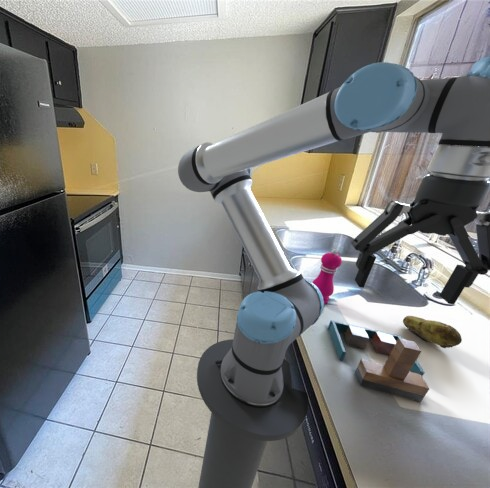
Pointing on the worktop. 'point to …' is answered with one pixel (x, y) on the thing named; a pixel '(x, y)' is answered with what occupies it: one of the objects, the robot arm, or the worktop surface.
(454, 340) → the yellow-green oblong lump
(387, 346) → the mahogany block
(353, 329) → the walnut block
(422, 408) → the worktop surface
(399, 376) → the wooden t-shaped block
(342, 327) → the teal u-shaped frame
